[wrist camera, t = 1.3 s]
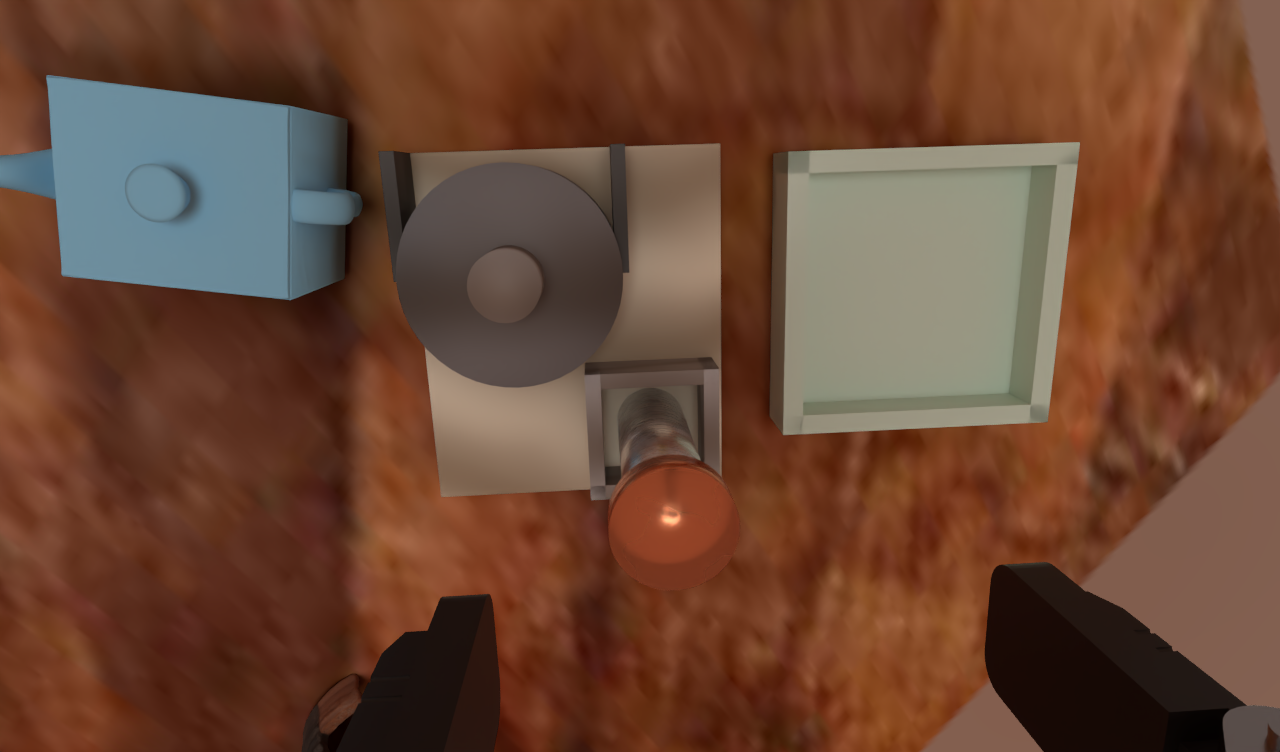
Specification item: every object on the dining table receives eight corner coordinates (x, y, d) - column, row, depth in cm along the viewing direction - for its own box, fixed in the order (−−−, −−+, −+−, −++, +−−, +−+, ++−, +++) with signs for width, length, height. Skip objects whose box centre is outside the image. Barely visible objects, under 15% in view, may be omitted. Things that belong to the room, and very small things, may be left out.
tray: (773, 153, 30) (788, 151, 28) (1042, 144, 31) (1080, 142, 28) (769, 416, 33) (783, 434, 31) (1015, 404, 34) (1047, 422, 31)
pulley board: (406, 154, 29) (354, 148, 23) (714, 145, 30) (745, 136, 24) (442, 483, 33) (406, 555, 27) (716, 469, 34) (743, 536, 27)
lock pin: (603, 378, 31) (606, 473, 21) (694, 374, 31) (740, 466, 21) (607, 464, 32) (611, 594, 22) (696, 459, 32) (740, 586, 22)
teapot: (83, 246, 30) (-84, 268, 22) (72, 85, 28) (-111, 53, 21) (389, 279, 31) (325, 311, 23) (394, 125, 29) (327, 108, 22)
